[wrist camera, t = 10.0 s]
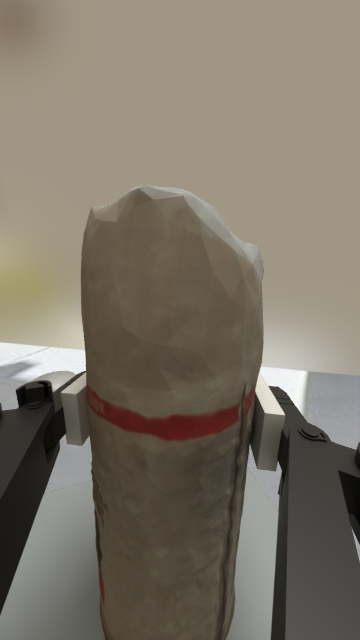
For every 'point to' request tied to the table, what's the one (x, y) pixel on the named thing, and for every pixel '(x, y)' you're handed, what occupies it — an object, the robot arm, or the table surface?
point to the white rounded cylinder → (56, 378)
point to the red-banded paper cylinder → (168, 408)
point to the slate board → (83, 577)
